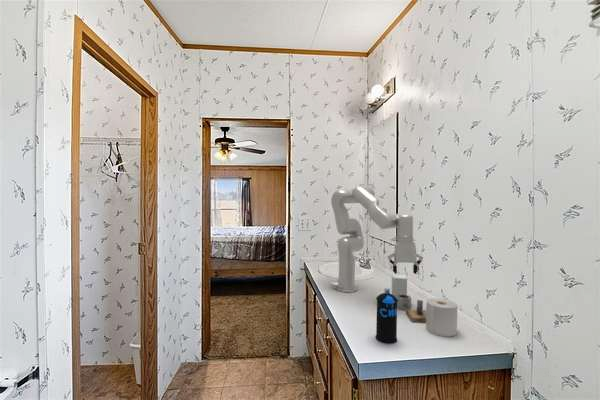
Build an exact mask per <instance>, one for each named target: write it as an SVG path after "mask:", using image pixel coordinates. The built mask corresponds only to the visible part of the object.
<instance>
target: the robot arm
mask: <svg viewBox="0 0 600 400" xmlns="http://www.w3.org/2000/svg"><path fill="white" fill-rule="evenodd" d="M375 194H376V193H375V191H374V189H373V188H372V187H371V186H367V185H364V186H363V185H357V186H355V187H354V188H353V189H345V188H344V189H338V190H336V191H334V192H333V194H332V195H331V200H330V204H331V206H332V207H331V208H332V211H333V215H334V220H335V226H336V231H337V232H338V234H340V235H349V236H343V237H340V238H339V240H338V241H337V251H338V280H337V281H331V282H330V285H331V286H332V287H335V290H336V291H338V292H342V293H354V292H357V291H358V287H357V286H356V284H355V282H356V281H355V280H356V279H355V278H356V277H355V276H356V273H355V272H356V258H355V255H354V253H355V252H360V251H362V250H363V248H364V245H365V241H364V236H363V229H362V226H361V224H360V221H359V220H357V219H356V218H350V215H349V211H348V210H349V209H348V208H347V207H346V205H345V204H360V205H361V206H362V208H364V209H365V210H366V211H367V213H368V214H367V215H368V217H370V220H371V221H372V222H373V223H374V224H376V225H377V226H379V227H380V228H382V229H385V230H386V229H387V230H388V229H397V231H396V236H394V237H393V238H394V240H395V244H394V245H395V246H394V252H393V253H391V254H389V255H387V256H386V257H387V259H388V261H389V263H390V264H392V272H393V273H394V275H397V273H398V271H397V270H398V269H397V268H398V266H397V265H398V263H406V264H407V263H410V264H413V265H412V266H413V267H412V268H413V272H412V273H413V274H414V275H417V273H418V271H419V270H418V266H419V265H420V264H421V263H422V261H423V260H424V256H422V255H420V254H418V253H417V247H416V242H415V241H414V218H413V215H411V214H399V213H385V212H384V211H383V210H381V209H380V208H379V205H380V199H379V198H378V197H377V196H375ZM392 258H394V261H393V259H392ZM417 258H418V259H417Z"/></svg>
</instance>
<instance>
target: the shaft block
mask: <svg viewBox="0 0 600 400" xmlns="http://www.w3.org/2000/svg"><path fill="white" fill-rule="evenodd" d="M423 303H424V300H421V299H418V300H416V309H411V310H406V311H405V315H406V317H407V318H408V319H409V320H410V322H411V323H419V324H420V323H421V324H422V323H423V324H426V309H423V308H424V307H423V305H424V304H423Z"/></svg>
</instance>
